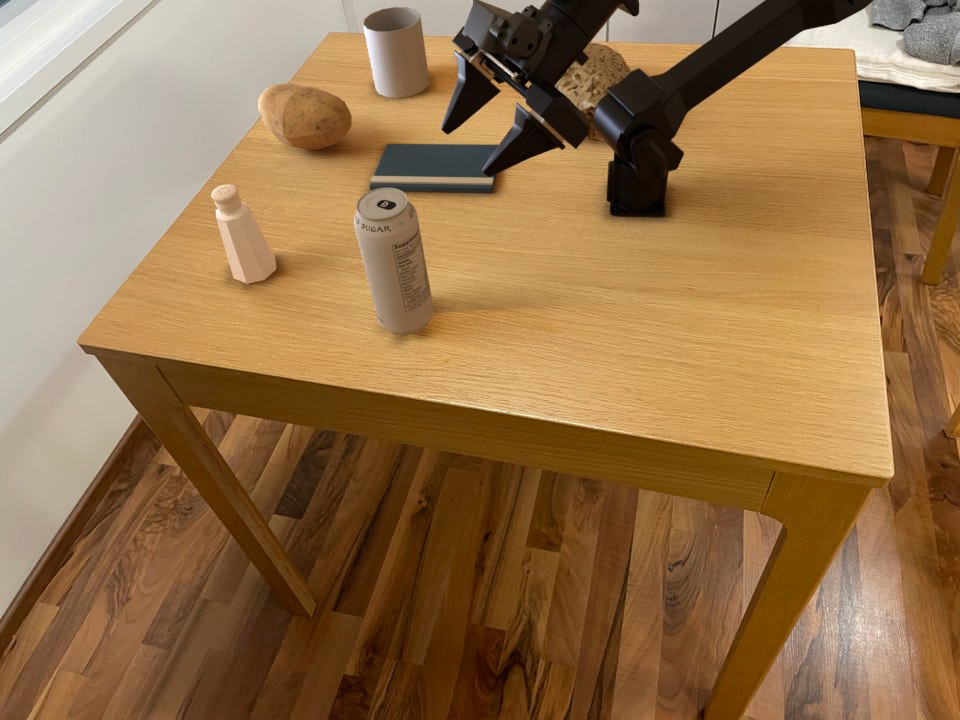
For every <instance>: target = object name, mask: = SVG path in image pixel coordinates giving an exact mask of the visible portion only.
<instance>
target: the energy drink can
mask: <svg viewBox="0 0 960 720" xmlns="http://www.w3.org/2000/svg"><path fill="white" fill-rule="evenodd" d="M355 207H356V212H355V215H354V219H353V227H354V231H355V236H356V238H357V243H358V247H359V251H360V254H361V259H362V262H363V266H364V271H365V274H366V278H367V282H368V286H369V290H370V294H371V297H372V301H373V306H374V310H375V314H376V317H377V321H378V322H379V324H380V325H381V326H382V327H383V328H384V329H386V330H388V331H389V332H390V333H392V334H394V335H400V336H408V335H413V334H416V333H418V332H420V331H422V330H423V329H424V328H426V326H428V324H429V321H430V320H431V319H432V318H433V315H434V313H435V312H434V309H435V308H434V302H433V297H432V289H431V285H430V279H429V274H428V269H427V268H428V267H427V263H426V257H425V251H424V245H423V240H422V234H421V228H420V222H419V218H418V212H417V208H416V207H415V206H414V205H413V204H412V203H411V202H410V201H409V198H408V196H407V194H406V193H405V191H401V190H399V189H395V188H378V189H375V190H372V191H371V190H369V191H368V192H366V193H363V194H362V195H361V196H360V197H359V199H357V202H356V205H355Z"/></svg>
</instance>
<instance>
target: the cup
mask: <svg viewBox="0 0 960 720" xmlns="http://www.w3.org/2000/svg"><path fill="white" fill-rule="evenodd" d="M362 26H363V33H364V37H365V43H366V47H367V52H368V58H369V62H370V67H371V72H372V78H373V83H374V88H375V91H376V92H377V93H378V94H379V95H381V96H383V97H385V98H390V99H404V98H408V97H409V98H410V97H413V96H416V95H417V94H420V93H422V92H424V91H425V90H426V89H427V88H428V87H429V85H430V73H429V68H428V60H427V53H426V47H425V39H424V30H423V23H422V16H421V14H420V12H419V11H418V10H416V9H414V8H411V7H407V6H405V7H404V6H392V7H387V8H381V9H379V10H376V11H374V12H371V13H369V14H368V15H367V16H366V17H365V18H364V19H363V22H362Z"/></svg>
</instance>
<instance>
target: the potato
mask: <svg viewBox="0 0 960 720" xmlns="http://www.w3.org/2000/svg"><path fill="white" fill-rule="evenodd" d="M257 101H258V102H257V103H258V104H257V107H258V111H259V114H260V117H261V119H262V121H263V124H264V126H265V127H266V128H267V129H268V130H269V132H270V133H271V134H272V135H273V136H274V137H275V138H276V139H277V140H278V142H280V143H283V144H285V145H287V146H290V147H291V148H296V149H301V150H306V151H314V150H319V149H323V148H327V147H330V146H333V145H335V144H337V143H340V141H341V140H342V139H343V137H344V136H346V134H348V133H349V131H350V129H351V127H352V123H353V122H352V120H353V117H352V116H353V115H352V114H351V111H350V109H349V107H348V105H347V104H346V102H345V100H343V99H341V98H340V97H339V96H336V95H335V94H332V93H330V92H328V91H326V90H322V89H320V88H316V87H311V86H306V85H299V84H295V83H290V82H289V83H288V82H281V83H277V84H273V85H271V86H269V87H267V88H265V89H264V90H263V92H261V94H260V95H259V97H258V100H257Z"/></svg>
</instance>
